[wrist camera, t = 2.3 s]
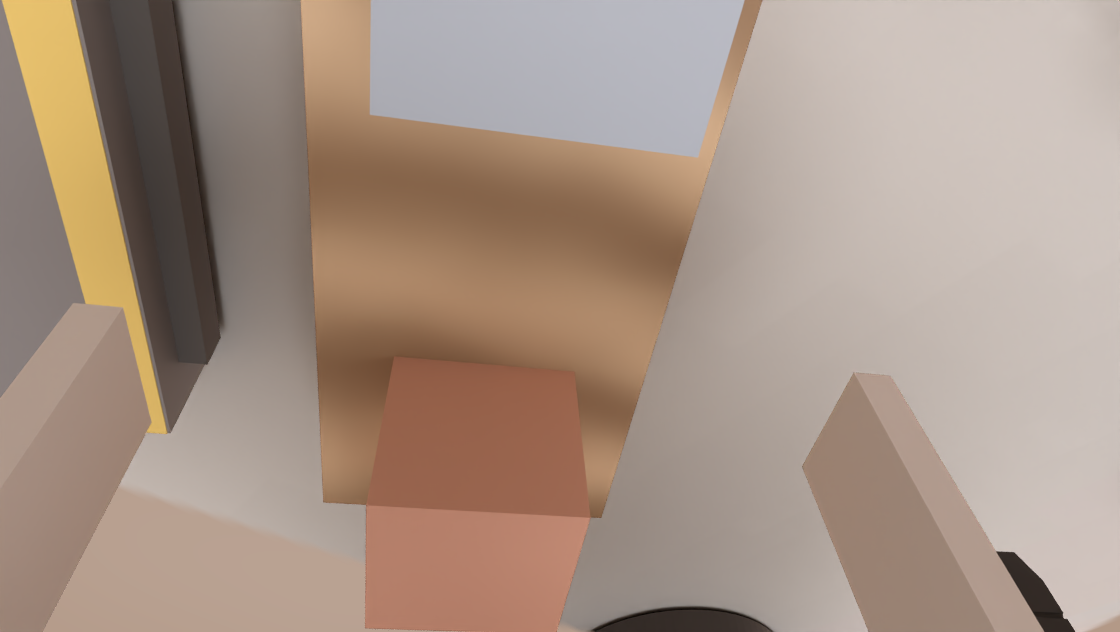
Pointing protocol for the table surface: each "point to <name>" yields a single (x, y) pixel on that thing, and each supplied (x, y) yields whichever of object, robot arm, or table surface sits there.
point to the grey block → (555, 67)
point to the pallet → (482, 251)
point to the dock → (102, 189)
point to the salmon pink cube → (475, 499)
